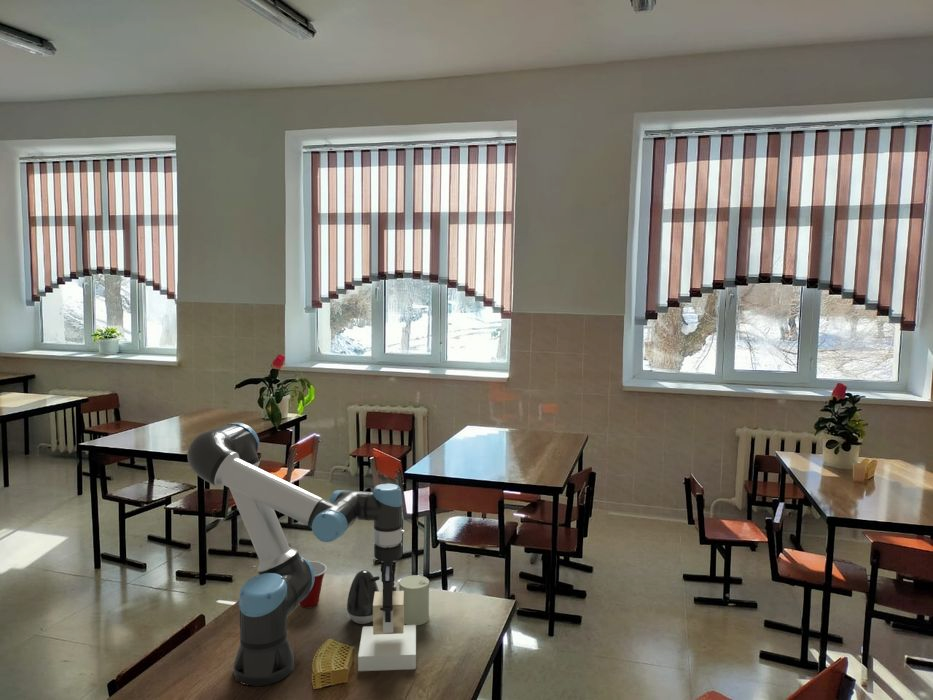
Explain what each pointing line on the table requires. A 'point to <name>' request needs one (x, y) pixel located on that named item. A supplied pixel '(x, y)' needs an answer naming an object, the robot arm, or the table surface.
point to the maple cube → (397, 613)
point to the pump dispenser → (362, 597)
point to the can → (415, 599)
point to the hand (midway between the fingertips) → (388, 623)
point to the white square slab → (387, 650)
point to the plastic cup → (315, 585)
